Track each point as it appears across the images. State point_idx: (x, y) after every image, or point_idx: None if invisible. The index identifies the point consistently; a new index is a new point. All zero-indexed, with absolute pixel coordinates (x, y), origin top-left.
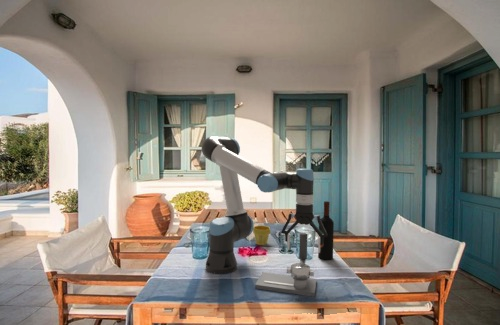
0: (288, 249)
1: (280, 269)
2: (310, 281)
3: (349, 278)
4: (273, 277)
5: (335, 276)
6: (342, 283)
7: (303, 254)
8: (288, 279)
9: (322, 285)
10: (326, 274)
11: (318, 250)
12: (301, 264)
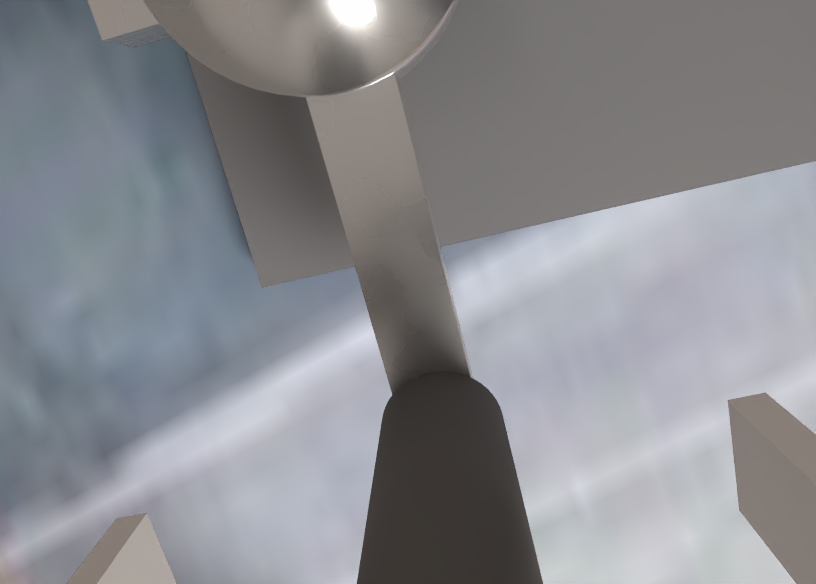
0: (742, 402)
1: (722, 384)
2: (293, 188)
3: (41, 505)
4: (732, 55)
5: (162, 487)
6: (51, 376)
7: (416, 418)
8: (539, 103)
9: (193, 237)
10: (250, 489)
11: (118, 545)
12: (319, 33)
